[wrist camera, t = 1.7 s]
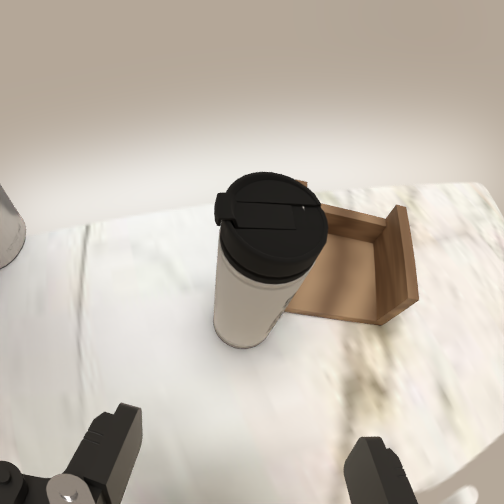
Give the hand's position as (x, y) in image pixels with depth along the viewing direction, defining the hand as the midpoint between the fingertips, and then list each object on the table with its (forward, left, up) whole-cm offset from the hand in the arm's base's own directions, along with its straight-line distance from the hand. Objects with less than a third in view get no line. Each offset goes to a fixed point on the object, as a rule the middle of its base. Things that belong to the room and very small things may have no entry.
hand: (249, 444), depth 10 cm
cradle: (+10, +20, -21) cm, 31 cm away
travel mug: (0, +12, -21) cm, 24 cm away
